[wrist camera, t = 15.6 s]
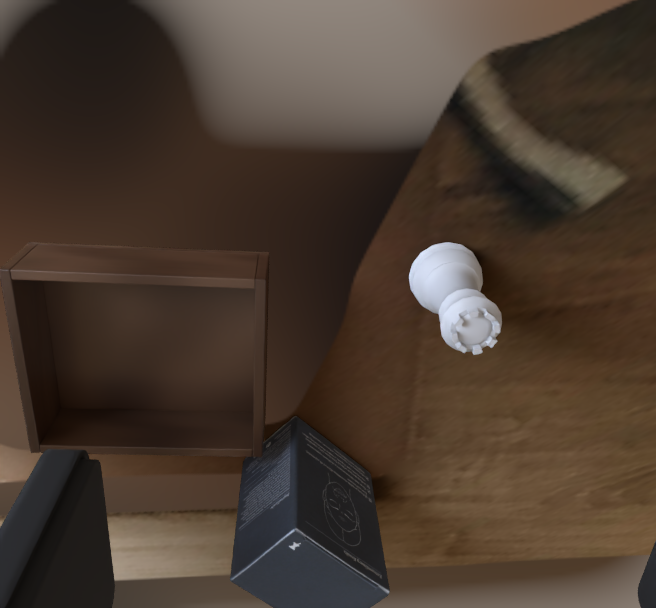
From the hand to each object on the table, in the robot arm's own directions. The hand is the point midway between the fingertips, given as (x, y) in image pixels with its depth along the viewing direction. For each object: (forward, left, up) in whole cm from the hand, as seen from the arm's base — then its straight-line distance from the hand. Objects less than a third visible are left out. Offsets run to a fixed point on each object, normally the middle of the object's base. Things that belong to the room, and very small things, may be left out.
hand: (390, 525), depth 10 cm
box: (0, -22, -28) cm, 36 cm away
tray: (-10, -12, -28) cm, 32 cm away
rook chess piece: (+8, -7, -28) cm, 30 cm away
